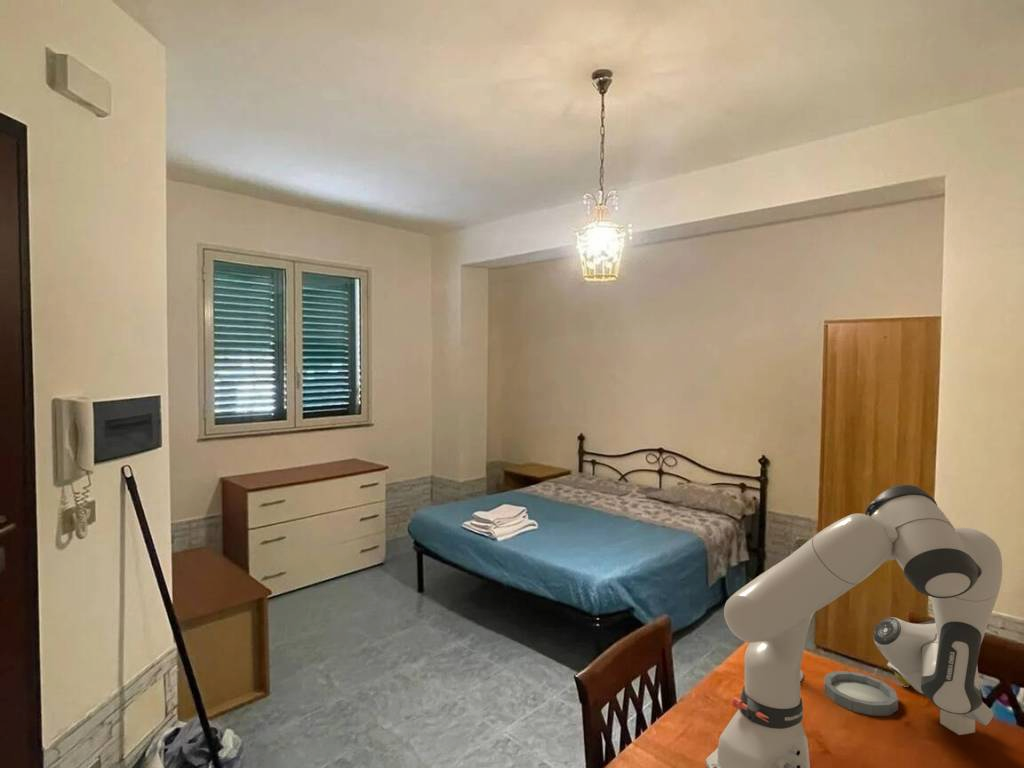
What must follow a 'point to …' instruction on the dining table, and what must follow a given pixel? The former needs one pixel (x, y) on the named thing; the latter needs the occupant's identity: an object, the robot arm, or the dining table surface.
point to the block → (957, 722)
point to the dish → (861, 693)
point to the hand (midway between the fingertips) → (959, 709)
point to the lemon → (902, 679)
